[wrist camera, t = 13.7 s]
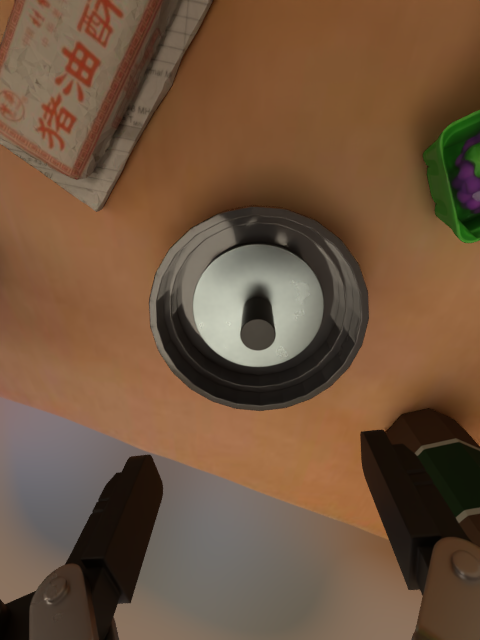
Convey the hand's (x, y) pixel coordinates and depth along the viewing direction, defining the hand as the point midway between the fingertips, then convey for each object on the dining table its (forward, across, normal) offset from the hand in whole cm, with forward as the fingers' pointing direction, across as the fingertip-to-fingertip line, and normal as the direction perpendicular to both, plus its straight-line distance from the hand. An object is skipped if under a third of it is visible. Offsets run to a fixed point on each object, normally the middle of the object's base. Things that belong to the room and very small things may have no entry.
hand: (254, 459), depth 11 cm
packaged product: (+18, +8, -20) cm, 28 cm away
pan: (+18, 0, 0) cm, 18 cm away
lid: (+17, 0, 0) cm, 17 cm away
